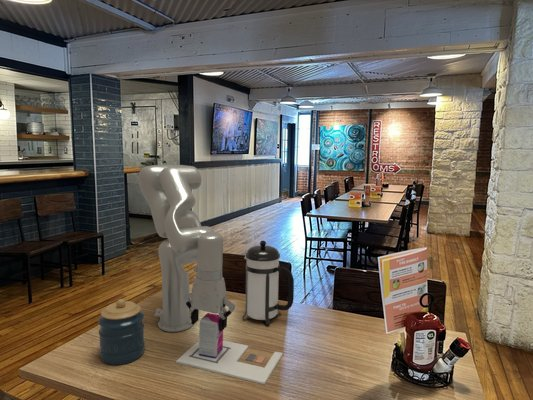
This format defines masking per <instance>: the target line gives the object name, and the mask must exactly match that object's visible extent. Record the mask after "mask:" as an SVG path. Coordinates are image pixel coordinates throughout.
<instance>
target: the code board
mask: <svg viewBox="0 0 533 400" xmlns="http://www.w3.org/2000/svg"><path fill="white" fill-rule="evenodd" d="M249 347H250V346H249V345H247V344H241V343H237V342H232V341H228V340H224V339H223V349H222V351H221V352H220V353H219V354H218V356H217V357H216V358H210V357H205V356H199V340H197V342H195V343H194V344H193V345H191V347H190V348H189V349H187V351H186V352H184V353H183V354H182V355H181V356H180V357H179V358H178V359H177V360H176V362H175V363H176V364H180V365H184V366H188V367H192V368H196V369H200V370H202V371H203V370H204V371H206V372H207V371H208V372H212V373H216V374H220V375H224V376H227V377H232V378H236V379H239V380H242V381H243V380H244V381H249V382H252V383H256V384H260V385H264V386H265V385H266V383H268V380H269V378H270V376H271V375H272V373H273V371H274V370H275V368H276V366H277V365H278V363H279V362H280V360H281V358H282V357H283V352H280V351H274V352H273V353H272V356H271V357H270V359H269V360H268V361H267V363H266V364H265V366H264V367H262V366H258V365H255V364H250V363H247V362H246V363H245V362H241V361H239V360H240V359H241V358H242V356H243V355H244V354H246V353H245V352H246V351H248V349H249ZM256 356H257V354H254V353H250V354H248V356H247V357H246V359H245V361H249V362H253V360H254V359H255V358H256ZM265 359H266V356H263V355H259V356H258V357H257V359H256V360H255V361H254V362H255V363H259V364H262V363H263V361H264V360H265Z"/></svg>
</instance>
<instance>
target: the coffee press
mask: <svg viewBox="0 0 533 400" xmlns="http://www.w3.org/2000/svg"><path fill="white" fill-rule="evenodd" d="M243 258H244V260H246V263H245V311H244V314H243V315H242V318H241V319H243V321H247V320H249V318H251V319H254V320H258V321H263V322H264V326H265V327H268V326H270V325H271V324H270V319H273V318H275V317H276V316H277V317H280V316H281V315H282V314H281V312H280V311H288V310H289V309H291V308H292V306H293V304H294V295H295V294H294V293H295V291H294V290H295V282H294V281H295V279H294V276H293V272H291V270H290V269H288V268H286V267H283V266H282V267H281V266H280V258H281V254H280V252H279V250H278V249H277V248H276V247H274V246H272V245H271V246H270V245H267V242H266V241H265V240H261V241H260V242H259V245H254V246H252V247H250V248H248V250H247V252H245V256H244V257H243ZM280 273H282V274H285V275H286V277H287V280H288V286H287V287H288V290H287V291H288V293H287V294H288V298H287V304H285V305H284V304H280V303H279V281H280V279H279V275H280Z"/></svg>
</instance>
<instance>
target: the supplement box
mask: <svg viewBox="0 0 533 400" xmlns="http://www.w3.org/2000/svg"><path fill="white" fill-rule="evenodd" d="M220 318H221V317H220V315H219V314H218V313H217V314H215V313H210V312H206V314H205V315H204V316H203V317H201V318H200V319H199V334H198V335H199V337H198V339H199V340H198V341H199V356H205V357H210V358H216V357H217V356H218V354H219V353H220V352H221V351H222V349H223V340H224V330H223V331H219V320H220Z"/></svg>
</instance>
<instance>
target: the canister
mask: <svg viewBox="0 0 533 400" xmlns="http://www.w3.org/2000/svg"><path fill="white" fill-rule="evenodd" d="M100 315H101V316H100V317H99V318H98V321H97V323H98V325H99V326H100V327H99V329H98V335H99V357H100V360H101V361H102V362H103V363H104V364H107V365H113V366H119V365H125V364H129V363H132V362H134V361H136V360H138V359H139V358H140V357H142V356H143V354H144V351H145V347H146V345H145V344H146V343H145V329H144V328H145V323H144V322H143V319H144V317H145V313H144V312H143V311H142V307H141V306H140V305H139V304H137V303H135V302H134V301H131V300H130V301H129V300H127V301H125V299H123V298H119V299H118V300H117V301H116V302H113V303H110V304H109V305H107V306H106V307H104V308H103V309H102V310H101V312H100Z"/></svg>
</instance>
